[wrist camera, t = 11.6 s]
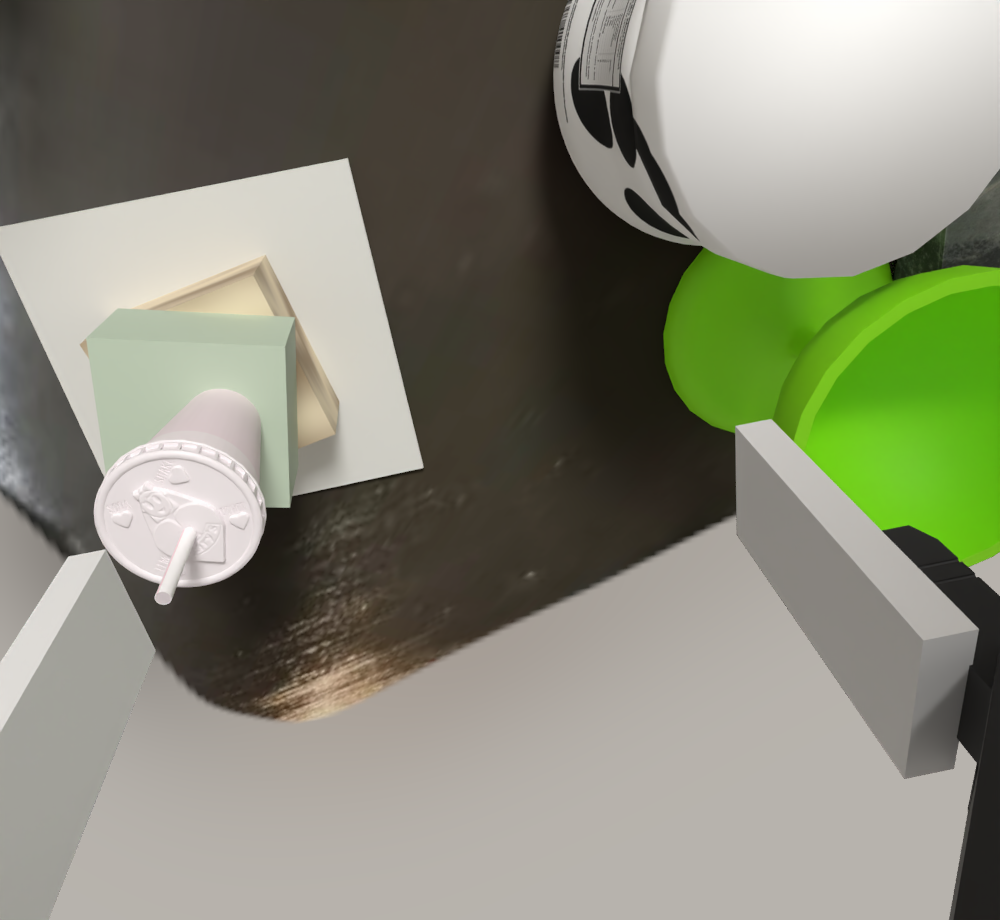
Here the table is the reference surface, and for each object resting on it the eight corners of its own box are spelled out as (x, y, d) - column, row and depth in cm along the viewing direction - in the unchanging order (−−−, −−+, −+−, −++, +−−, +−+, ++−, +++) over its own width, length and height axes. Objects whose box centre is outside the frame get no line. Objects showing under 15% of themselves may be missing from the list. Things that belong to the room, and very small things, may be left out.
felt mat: (-9, 228, 43) (-12, 229, 43) (347, 158, 44) (347, 158, 44) (131, 528, 53) (129, 531, 52) (423, 465, 54) (423, 467, 53)
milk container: (859, 153, 48) (1097, 198, 32) (600, 273, 49) (705, 374, 33) (798, -178, 40) (1074, -336, 24) (490, -25, 41) (559, -79, 25)
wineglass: (846, 149, 48) (1078, 193, 32) (922, 354, 55) (1143, 473, 39) (621, 296, 50) (733, 404, 34) (722, 474, 57) (854, 633, 41)
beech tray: (108, 317, 46) (79, 344, 42) (265, 254, 46) (253, 275, 41) (196, 457, 51) (178, 495, 46) (339, 401, 50) (335, 434, 46)
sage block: (117, 308, 41) (85, 337, 37) (295, 317, 42) (285, 346, 38) (136, 462, 45) (110, 505, 40) (298, 465, 46) (289, 507, 42)
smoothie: (223, 501, 41) (155, 689, 29) (126, 415, 38) (5, 582, 26) (315, 430, 40) (286, 593, 28) (222, 336, 37) (144, 471, 25)
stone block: (1056, 24, 47) (1132, 20, 42) (1011, 265, 53) (1072, 285, 49) (914, 44, 46) (975, 41, 41) (886, 285, 52) (936, 307, 48)
